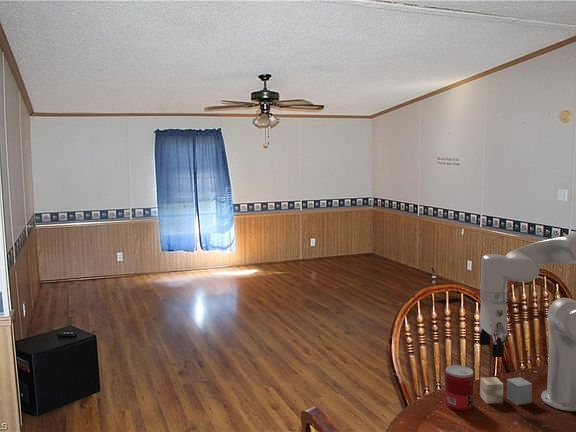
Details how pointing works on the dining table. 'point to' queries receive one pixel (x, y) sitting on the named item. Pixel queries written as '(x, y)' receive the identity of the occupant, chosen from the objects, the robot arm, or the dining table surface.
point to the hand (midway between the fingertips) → (491, 350)
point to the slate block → (519, 391)
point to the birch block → (491, 390)
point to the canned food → (459, 387)
